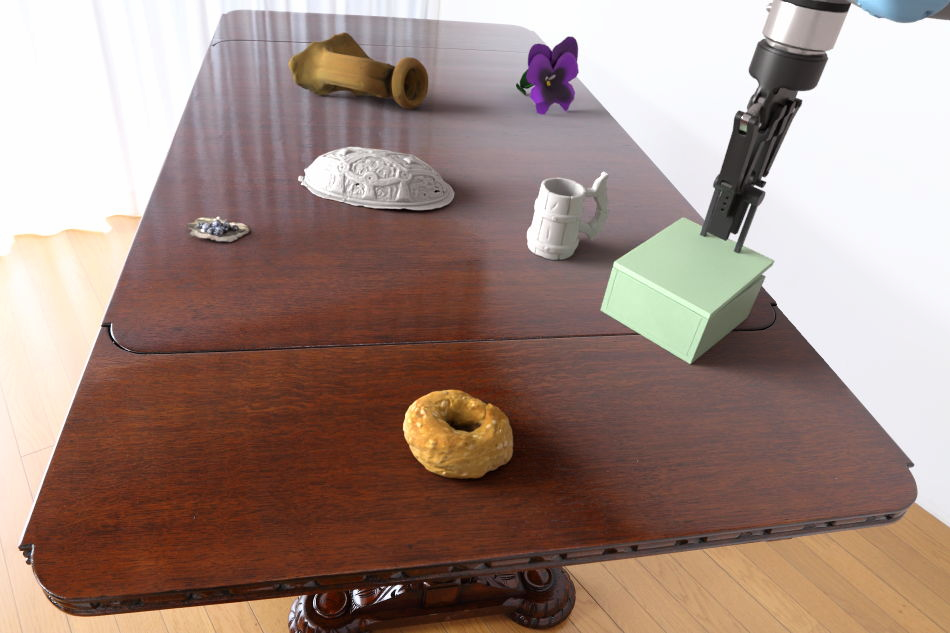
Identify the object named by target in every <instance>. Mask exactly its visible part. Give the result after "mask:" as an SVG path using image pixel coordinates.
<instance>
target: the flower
mask: <svg viewBox="0 0 950 633" xmlns="http://www.w3.org/2000/svg"><path fill="white" fill-rule="evenodd" d="M578 58H579V44H578V41H577V39H576V38H575V37H574V36H567V37H565V38H564V39H562V41H561V42H560V43H558V44H556V45H555V46H553V48H552V49H551V48H550V46H548V45H547V44H543V43H534V44H533V45H532V46H531V47H530V49H529V51H528V54H527V69H526V70H525V71H524V72H523V73H522V74H521V78H520V79H519V82H516V84H515V87H516V89H517V91H519V92H520V93H521V94H522V95H524V96H526V95H527V91H526V90H528V89H530V97H529V98H530V99H531V100H532V101H533V102H534V103H535V111H536V114H537V115H538V114H539V115H546V114H547V113H548V111H549V109H550V107H551V106H552V105H553V104H557V105H558V106H560V107H561V108H562V109H563V111H564V112H567V111H568V110H569V109H570V107H571V104H572V102H573V101H574V100H575V95H576V91H575V88H574V87H573V86H574V85H572V84H571V83H569V82H571V81H572V80H574V79H576V78H577V76H578V74H579V73H580V71H579V64H578ZM525 89H526V90H525Z"/></svg>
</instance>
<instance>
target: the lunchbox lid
mask: <svg viewBox="0 0 950 633" xmlns="http://www.w3.org/2000/svg"><path fill="white" fill-rule="evenodd" d="M718 177H719V174H717V175H716V177H715V179H714V181H713V183H712V187H713V189H714V190H713V194H712V196H711V199H710V203H709V205H708V209H707V212H706V214H705V217H704V221H703V223H702V225H701V224H699V223H697V222H694V221H693V220H691V219H688V218H686V217H684V216H682V217H681V218H679V219H678V220H676V221H675V222H673V223H672V224H670V225H668V226H667V227H665V228H663V229H662V230H661V231H659V232H658V233H656V234H654V235H653V236H651V237H650V238H649V239H646V241H644V242H643V243H641V244H639V245H638V246H636V247H635V248H633V249H631V250H630V251H629V252H627V253H624V255H622V256H621V257H619V258H618V259H616V260H614V262H613V266H612V268H613V267H615V268H616V269H618V270H620V271H622V272H624V273H625V274H627V275H629V276H631V277H633V278H634V279H636V280H638V281H640V282H642V283H644V284H645V285H647V286H649V287H651V288H653V289H654V290H656V291H658V292H660V293H662V294H663V295H665V296H667V297H669V298H671V299H672V300H674V301H676V302H678V303H680V304H682V305H683V306H685V307H687V308H689V309H691V310H692V311H694V312H696V313H698V314H700V315H701V316H703V317H705V318H707V319H710V318H711V317H712V316H714V315H715V314H716V313H717V312H718V311H719V310H721V309H722V308H723V307H724V306H725V305H726V304H728V303H729V302H730V301H731V300H732V299H734V298H735V297H736V296H737V295H738V294H739V293H741V292H742V291H743V290H744V289H745V288H747V287H748V286H749V285H750V284H751V283H752V282H754V281H755V280H756V279H757V278H758V277H759V276H761V275H764V273H765V272H766V271H768V270H769V269H770V268H772V267H773V266H774V263H775V260H774V259H772V258H770V257H768V256H766V255H764V254H762V253H760V252H759V251H755V250H753V249H752V248H749V247H747V246H745V245H744V244H745V241H746V239H747V236H748V233H749V231H750V228H751V225H752V223H753V220H754V218H755V215H756V212H757V210H758V207H759V206H760V205H761V204H762V203H763V201H764V199H765V197H766V191H765V190H763V189H760V188H758V187H755V186H754V187H753V186H751V185H748V184H747V185H746V187H745V190H744V193H746V195H745V198H744V200H743V201H745V202H747V203H749V208H748V210H747V213H746V217H745V218H744V219H745V220H744V222H743V225H742V228H741V230H740V233H739V236H738V239H737V241H734V240H733V239H731V238H728V240H726V241H724V240H722V239H720V238H718V237H716V236H714V235H712V234H710V233H708V232H707V229H708V227H709V224H710V221H711V219H712V216H713V213H714V210H715V208H716V205H717V202H718V200H719V197H720V194H721V192H722V188H720V187H718V186H717V185H716V182H717V181H718Z"/></svg>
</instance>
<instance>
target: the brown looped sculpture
mask: <svg viewBox="0 0 950 633" xmlns="http://www.w3.org/2000/svg"><path fill="white" fill-rule="evenodd" d="M288 68H289V70H290V73H291V75H292V79H293V81H294V83H295V85H296V86H298V87H301V89H304V90H308V91H309V92H310V93H312V94H314V95H317V96H321V97H323V96H328V95H329V94H332V93H335V92H349V93H352V94H353V95H355V96H356V97H357V96H368V97H376V98H380V99H394V101H395V103H397V104H398V105H399V106H400V107H402V108H403V109H405V110H413V109H416V108H418V107H419V106H420V105H421V104H422V103H423V101H425V98H426V97H427V94H428V90H429V75H428V72H427V69H426V67H425V66H424V64H423V63H422V62H421V61H420V60H418V59H417V58H415V57H406V56H405V57H403V58H402V59H400V60H399V61H398V62H397V64H396V65H393V64H390V63H385V62H382V61H378V60H375V59H373V58H371V57H370V56H369V55H368V54H367V53H366V52H365V51H364V49H363V48H362V47H361V46H360V44H359V43H358V42H357V41H356V40H355V39H354V38H353V36H352V35H351V34H350V33H348V32H346V31H345V32H340V33H337V34H333V35H332V36H330V38H327V39H325V40H321V41H312V42H310V43H309V44H307V46H306V48H305V49H303V50H302V51H300V52H299V53H297V54H295V55H292V56H291V57H290V59H289V60H288Z"/></svg>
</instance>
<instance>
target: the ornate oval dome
mask: <svg viewBox="0 0 950 633" xmlns="http://www.w3.org/2000/svg"><path fill="white" fill-rule="evenodd" d="M303 170H304V173H305V174H304V175H305V176H303V175H299V176H298V179H297V180H298V182H300V185H301V186H304V187H306V188H307V190H309V192H311V193H312V194H313V195H315V196H317V197H319V198H322V199H327V200H333V201H335V202H339V203H344V204H348V205H352V206H356V207H364V208H370V209H371V208H372V209H382V210H383V209H384V210H385V209H389V210H391V209H392V210H395V209H396V210H402V209H405V210H411V211H428V210H434V209H441V208H443V207H445V206H447V205H449V204H450V203H451V202H452V201H453V199H454V198H455V191H454V190H453V188H452V186H451V185H450V184H449V183H447V182H446V181H445V180H443V178H442V176H441V174H440V173H439V172H438V171H436V170H435V169H434V168H433V167H432V166H431V165H429V164H428V163H427V162H425V161H423V160H422V159H421V158H418V157H416V155H414V154H410V153H404V152H400V151H399V152H398V151H392V150H386V149H379V148H378V149H377V148H369V147H362V146H347V147H343V148H338V149H334V150H332V151H328V152H326V153H323V154H322V155H319V156H318V157H317V158H315V159H314V161H313V162H312V163H311V164H310V165H309V166H308V167H306V168H304V169H303ZM435 191H437V192H435Z"/></svg>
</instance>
